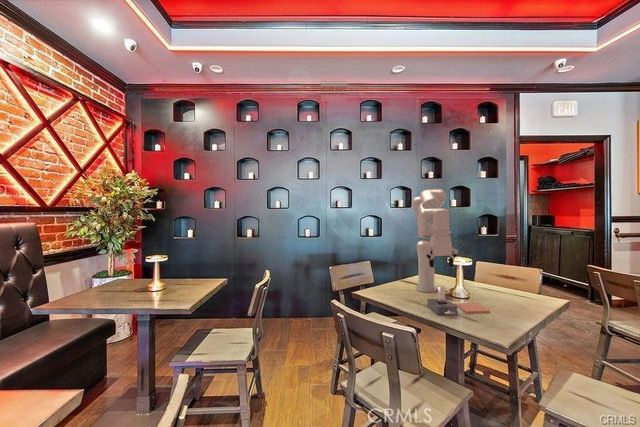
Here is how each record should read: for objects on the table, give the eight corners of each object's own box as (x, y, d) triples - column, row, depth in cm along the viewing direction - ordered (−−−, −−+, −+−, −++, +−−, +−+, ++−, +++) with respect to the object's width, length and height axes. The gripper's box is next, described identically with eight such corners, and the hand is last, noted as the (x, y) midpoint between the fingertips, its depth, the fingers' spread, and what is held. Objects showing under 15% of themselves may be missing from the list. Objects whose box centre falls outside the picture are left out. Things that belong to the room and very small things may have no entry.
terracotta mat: (454, 305, 153) (454, 303, 153) (476, 304, 153) (476, 302, 153) (466, 313, 141) (466, 311, 141) (490, 312, 141) (490, 310, 141)
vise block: (427, 306, 152) (427, 299, 152) (445, 306, 152) (445, 298, 152) (440, 317, 136) (440, 309, 136) (461, 317, 136) (461, 309, 136)
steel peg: (437, 309, 147) (436, 286, 147) (443, 309, 148) (443, 286, 147) (440, 311, 144) (439, 287, 144) (446, 311, 144) (446, 287, 144)
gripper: (454, 232, 149) (454, 265, 149) (421, 233, 149) (421, 265, 149) (461, 233, 142) (461, 268, 142) (426, 234, 141) (427, 268, 141)
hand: (441, 266), depth 145 cm, fingers open, 9 cm apart
